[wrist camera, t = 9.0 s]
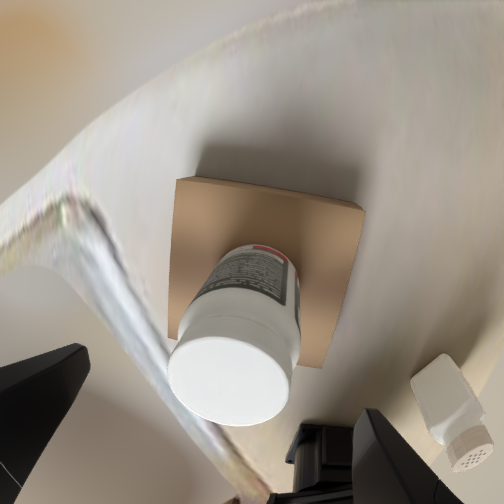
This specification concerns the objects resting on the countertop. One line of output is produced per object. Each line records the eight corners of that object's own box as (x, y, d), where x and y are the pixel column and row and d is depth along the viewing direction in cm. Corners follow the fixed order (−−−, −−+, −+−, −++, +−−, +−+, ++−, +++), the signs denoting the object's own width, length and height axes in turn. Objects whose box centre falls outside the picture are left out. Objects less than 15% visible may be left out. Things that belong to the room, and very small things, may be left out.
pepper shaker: (405, 378, 21) (438, 469, 12) (443, 347, 20) (492, 431, 11) (426, 398, 21) (457, 480, 12) (461, 370, 20) (504, 447, 11)
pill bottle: (197, 273, 17) (126, 361, 9) (265, 225, 16) (233, 294, 8) (249, 334, 18) (217, 445, 10) (316, 294, 16) (328, 404, 8)
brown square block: (319, 342, 21) (321, 368, 18) (182, 316, 22) (167, 337, 19) (354, 202, 18) (365, 211, 15) (194, 176, 18) (176, 179, 16)
